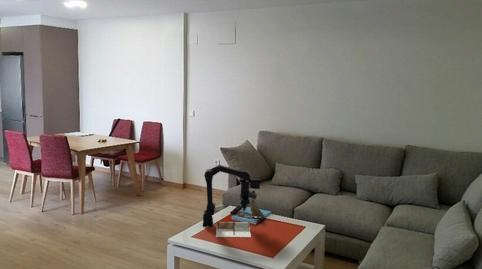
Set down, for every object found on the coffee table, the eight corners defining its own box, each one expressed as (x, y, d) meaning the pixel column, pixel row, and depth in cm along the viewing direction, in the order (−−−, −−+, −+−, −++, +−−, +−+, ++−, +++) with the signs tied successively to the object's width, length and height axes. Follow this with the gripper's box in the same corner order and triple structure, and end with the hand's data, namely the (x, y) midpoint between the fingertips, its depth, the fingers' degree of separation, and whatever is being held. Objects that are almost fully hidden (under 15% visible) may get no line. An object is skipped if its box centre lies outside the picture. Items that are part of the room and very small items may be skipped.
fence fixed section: (217, 229, 266) (217, 222, 265) (217, 228, 267) (217, 221, 266) (234, 229, 266) (234, 222, 266) (234, 228, 267) (234, 221, 267)
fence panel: (235, 228, 266) (235, 222, 266) (235, 227, 267) (235, 221, 267) (249, 228, 267) (249, 222, 266) (249, 227, 268) (249, 221, 267)
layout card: (216, 237, 253) (216, 236, 253) (216, 226, 270) (216, 226, 270) (251, 237, 254) (251, 236, 254) (249, 227, 271) (249, 226, 271)
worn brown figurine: (249, 221, 288) (244, 198, 286) (249, 218, 294) (245, 196, 291) (264, 219, 287) (260, 196, 285) (264, 216, 293) (260, 193, 290)
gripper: (257, 192, 260) (256, 214, 262) (255, 184, 278) (254, 205, 280) (241, 192, 259) (240, 214, 261) (240, 184, 277) (239, 205, 280)
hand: (244, 209), depth 271 cm, fingers open, 4 cm apart
